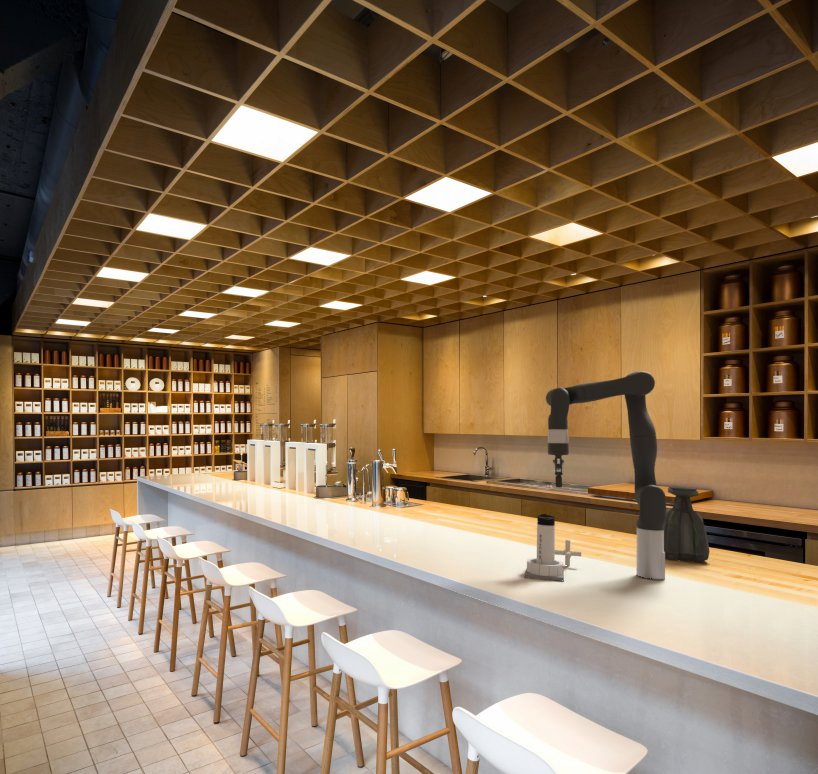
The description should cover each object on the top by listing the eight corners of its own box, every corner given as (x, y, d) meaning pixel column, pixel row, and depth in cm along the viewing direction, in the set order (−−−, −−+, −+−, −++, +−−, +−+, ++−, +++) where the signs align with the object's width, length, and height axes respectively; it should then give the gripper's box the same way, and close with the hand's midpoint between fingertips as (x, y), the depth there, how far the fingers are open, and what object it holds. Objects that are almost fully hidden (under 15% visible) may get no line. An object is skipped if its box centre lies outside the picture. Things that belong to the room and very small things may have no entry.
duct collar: (563, 573, 211) (563, 560, 212) (563, 581, 198) (563, 567, 199) (527, 569, 215) (527, 556, 215) (524, 577, 202) (524, 563, 202)
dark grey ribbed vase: (664, 560, 242) (664, 488, 244) (656, 553, 258) (657, 485, 260) (711, 564, 238) (710, 490, 240) (700, 556, 253) (700, 487, 256)
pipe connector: (582, 570, 217) (582, 543, 218) (554, 568, 219) (555, 541, 220) (579, 564, 227) (580, 538, 227) (553, 562, 229) (554, 537, 229)
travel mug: (551, 569, 210) (551, 514, 212) (556, 574, 204) (557, 516, 205) (534, 569, 210) (535, 513, 212) (539, 573, 203) (539, 516, 205)
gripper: (569, 442, 206) (569, 488, 204) (568, 442, 220) (568, 485, 218) (547, 442, 208) (548, 487, 206) (547, 441, 221) (548, 484, 220)
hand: (558, 486), depth 212 cm, fingers open, 8 cm apart
